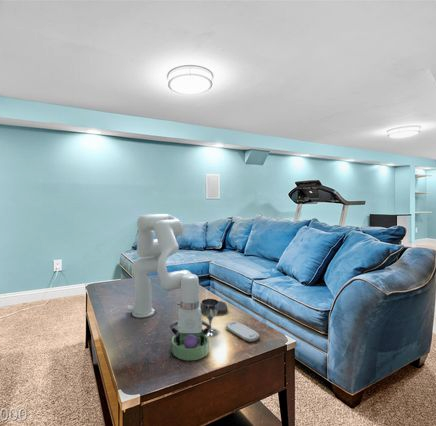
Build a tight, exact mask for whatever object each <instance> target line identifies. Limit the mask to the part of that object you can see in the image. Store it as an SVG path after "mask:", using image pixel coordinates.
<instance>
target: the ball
mask: <svg viewBox="0 0 436 426" xmlns="http://www.w3.org/2000/svg"><path fill="white" fill-rule="evenodd" d="M184 346H185V348H197V346H198V340H197V338H196V337H195V336H194V335H188V336H187V337H186V338H185V340H184Z"/></svg>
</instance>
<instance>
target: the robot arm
mask: <svg viewBox="0 0 436 426" xmlns="http://www.w3.org/2000/svg"><path fill="white" fill-rule="evenodd" d="M183 225H184V224H183V223H182V221H181V220H180V219H179V218H178V217H175V216H174V215H171V214H170V213H149V214H148V213H147V214H140V215H139V216H138V218H137V221H136V227H137V231H138V234H137V244H136V255H137V256H138V258H135V259H134V260H133V261H132V264H131V269H132V273H133V284H134V285H133V288H134V289H133V290H134V293H133V294H134V304H133V305H127V307H126V308H127V310H128V311H131V314H132V315H131V316H133V317H134V318H138V319H140V318H143V319H144V318H149V317H151V316H153V315H155V313H156V310H155V309H154V308H153V299H152V298H153V295H152V293H153V292H152V291H153V289H152V280H151V279H150V277H149V276H148V275H151V274H156V273H157V275H158V279H159V282H160V284H161V287H162V288H163V289H164V290H165V291H167V292H168V291H174V290H178V289H179V290H180V300H179V301H177V305H178V306H179V308H178V313H177V319H176V320H175V321H173V322H171V323H170V324H169V329H170V330H171V332H172V333H173V334H174V335H175V336H176V343H178V346H179V345H180V333H200V334H201V346H202V343H204V336H205V334H206V333H207V332H208V331H209V329H210V327H211V328H212V324H211V325H210V324H209V322H207V321H204V320H203V317H202V314H203V313H202V310H201V305H200V291H199V290H200V287H199V284H200V283H199V282H200V281H199V280H200V279H199V276H198V275H196V274H194V273H192V272H191V271H190V270H188V269H181V270H175V271H169V272H168V269H167V260H168V258H170V257H171V256H173V255H175V254H176V253H177V252H178V251H179V249H180V246H179V244H178V241H177V237H179V236H181V235H183V233H184V226H183ZM155 237H156V238H155ZM175 326H177V328H176V327H175ZM203 326H205V328H204V329H203Z"/></svg>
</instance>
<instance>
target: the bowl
mask: <svg viewBox="0 0 436 426" xmlns="http://www.w3.org/2000/svg"><path fill="white" fill-rule="evenodd" d="M188 335H194V336H195V337H196V338H197V340H198V346H197V348H185V346H184V340H185V338H186V337H187V336H188ZM209 352H210V336H207V335H206V334H205V336H204V343H202V346H201V334H200V333H180V345H179V346H178V343H176V336H175V334H174V335H173V336H172V337H171V353H172V355H173V356H175V358H177V359H178V360H179V359H180V360H182V361H197V360H201V359H202V358H205V357H207V355H208V354H209Z"/></svg>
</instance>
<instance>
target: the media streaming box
mask: <svg viewBox="0 0 436 426" xmlns="http://www.w3.org/2000/svg"><path fill="white" fill-rule="evenodd" d="M217 301H218V312H217V314H216V315H225V314H227V313H228V305H227V304H226V302H225V301H221V300H217ZM200 308H201V314H203V310H202V302H200Z"/></svg>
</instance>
